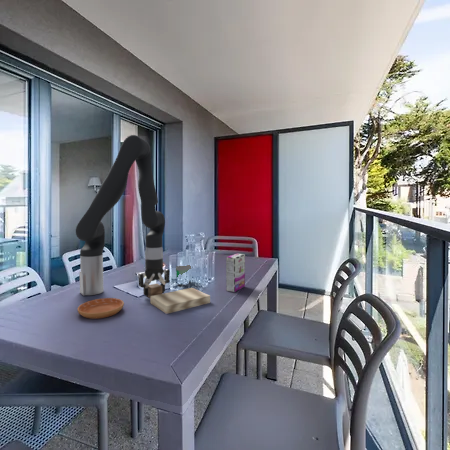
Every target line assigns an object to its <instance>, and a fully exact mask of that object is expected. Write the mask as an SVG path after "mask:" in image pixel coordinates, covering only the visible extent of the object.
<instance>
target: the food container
mask: <svg viewBox="0 0 450 450" xmlns="http://www.w3.org/2000/svg"><path fill="white" fill-rule="evenodd" d="M189 269H191V270H192V268H191V266H190V265H187V266H180V265H176V266H175V272H176V273H175V274H176V278H177V277H178V275H179V274H181V275H182V274H183V273H185V272H187V271H188V270H189Z"/></svg>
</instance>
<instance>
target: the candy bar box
mask: <svg viewBox="0 0 450 450" xmlns="http://www.w3.org/2000/svg"><path fill="white" fill-rule="evenodd" d="M225 258H226V259H225V261H226V263H225V267H226V269H225V272H226V274H225V276H226V279H225V284H226V286H225V288H226V289H225V291H226V292H230V293H231V292H232V293H236V292H238V291H239V290H241V289H243V288H245V287H246V254H245V253H235V254H231V255H229V256H226V257H225Z"/></svg>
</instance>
